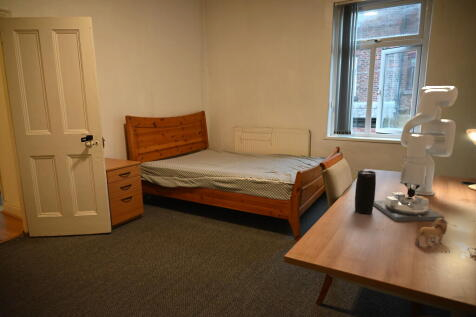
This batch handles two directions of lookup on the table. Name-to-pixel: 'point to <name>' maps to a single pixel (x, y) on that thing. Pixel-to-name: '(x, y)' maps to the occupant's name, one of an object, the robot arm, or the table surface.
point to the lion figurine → (433, 231)
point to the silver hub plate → (407, 204)
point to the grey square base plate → (407, 217)
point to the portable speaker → (365, 191)
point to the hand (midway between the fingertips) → (410, 196)
